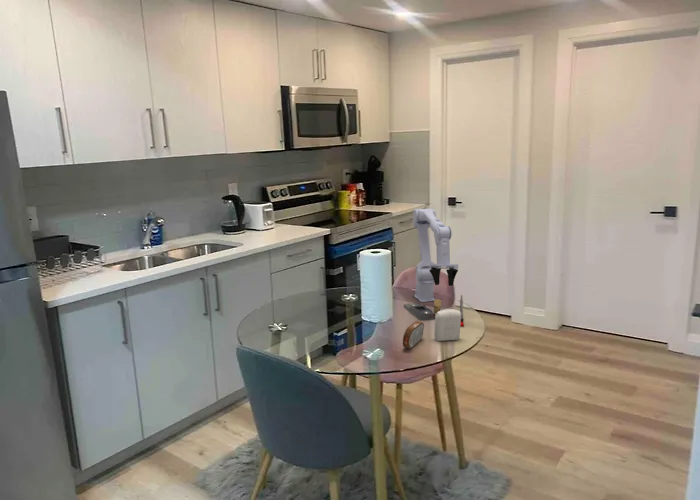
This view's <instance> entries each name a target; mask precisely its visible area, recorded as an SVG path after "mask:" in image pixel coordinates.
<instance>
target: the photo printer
mask: <svg viewBox="0 0 700 500" xmlns="http://www.w3.org/2000/svg"><path fill="white" fill-rule="evenodd" d="M434 320H435V322H434V334H433V335H434V336H433V337H434V340H435V341H437V342H441V341H442V342H443V341H456V340H460V336H461V335H460V334H461V326H460V324H461V313H460V310H458V309H452V308H451V309H450V308H447V309H442V310H441V311H439V312H437V313H435V319H434Z"/></svg>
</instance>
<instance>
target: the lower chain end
mask: <svg viewBox="0 0 700 500" xmlns="http://www.w3.org/2000/svg"><path fill="white" fill-rule="evenodd" d="M412 306H422V305H421V304H419V303H418V302H414V303H405V304H403V307H404V308H405V309H406V310H407V311H408V312H409V313H411V314H412V315H413V316H414V317H416V314H415V313H414V312H413V311H412V310H410V307H412ZM417 310H423V309H417Z"/></svg>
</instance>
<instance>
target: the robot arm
mask: <svg viewBox="0 0 700 500" xmlns="http://www.w3.org/2000/svg"><path fill="white" fill-rule="evenodd" d="M412 212H413V213H412V221H413V227H415V228H416V229H417V230H416V231H417V237H418V248H419V256H420V261H419V262H418V263H417V264H416V265H415V279H416V280H417V281H416V282H415V294H413V297H414V298H416V299H417V301H419V302H421V303H426V302H428V303H429V302H434V299H436V298H435V297H434V290H435V289H434V288H435V286H438V285H440V278H441V277H440V275H441V274H440V273H441V270H443V269H444V270H446V273H447V280H448V286H449V287H451V286H454V282H455V278H456V275H457V273H458V272H459V264H456V263H451V256H450V255H451V253H450V252H451V251H450V245H451V244H450V240H451V238H452V236H453V235H452V234H453V233H452V229H451V226H449V225H448V226H447V225H445V224H444V223H443V222H442V220H441V219H440V218H437V211H436V210H435V208H433V207H432V208H414V209H413V211H412ZM429 228H430V229H431V231H432V232H433V238H434V243H435V247H436V249H435V250H436V263H435V262H433V261H432V259H431V250H430V239H429V231H428V230H429ZM434 285H435V286H434Z"/></svg>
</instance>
